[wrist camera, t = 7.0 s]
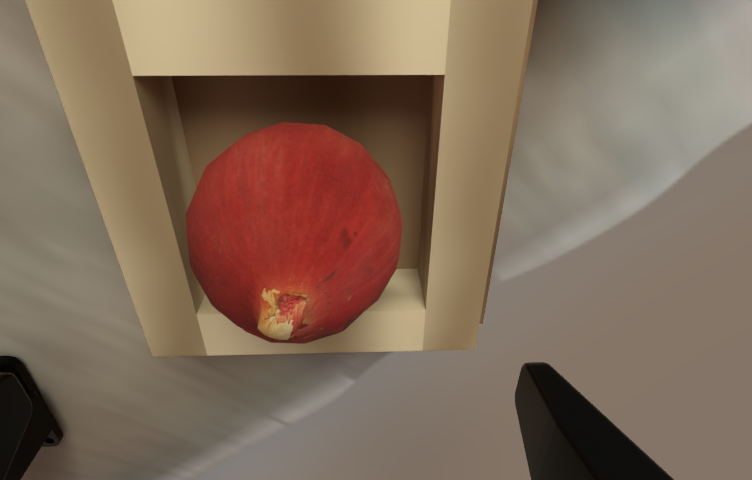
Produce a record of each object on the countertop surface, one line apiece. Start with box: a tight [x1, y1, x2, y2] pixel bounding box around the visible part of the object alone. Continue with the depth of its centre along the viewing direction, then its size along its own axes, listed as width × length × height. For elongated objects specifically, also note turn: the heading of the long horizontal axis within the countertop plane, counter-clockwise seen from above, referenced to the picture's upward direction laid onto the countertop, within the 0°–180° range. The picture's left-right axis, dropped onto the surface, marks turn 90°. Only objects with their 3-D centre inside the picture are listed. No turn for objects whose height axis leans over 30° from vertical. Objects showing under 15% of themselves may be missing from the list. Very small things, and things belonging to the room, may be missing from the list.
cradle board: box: [25, 0, 538, 357], centre depth 16 cm, size 14×14×4 cm
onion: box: [185, 122, 403, 344], centre depth 13 cm, size 6×6×8 cm
